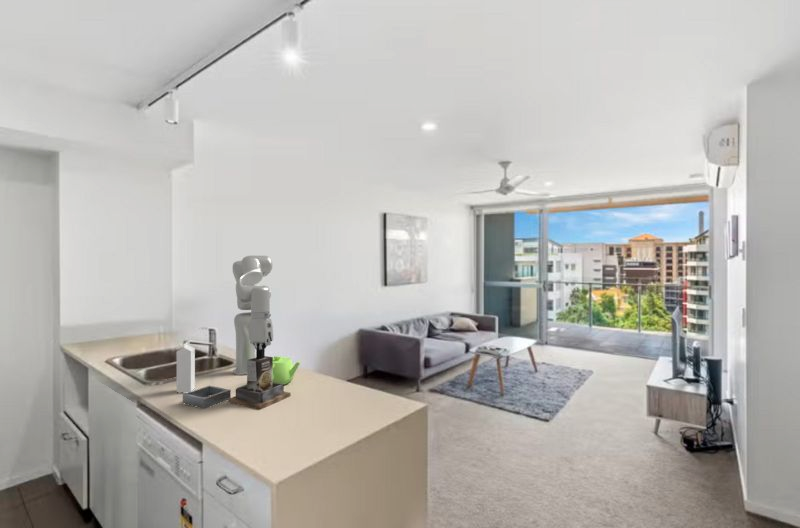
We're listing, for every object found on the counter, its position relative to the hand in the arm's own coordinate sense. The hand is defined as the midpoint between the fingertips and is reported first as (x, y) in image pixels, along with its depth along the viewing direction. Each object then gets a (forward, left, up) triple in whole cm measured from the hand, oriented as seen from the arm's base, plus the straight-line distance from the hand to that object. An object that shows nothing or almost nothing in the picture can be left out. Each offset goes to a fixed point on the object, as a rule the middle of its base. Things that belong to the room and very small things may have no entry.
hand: (260, 358), depth 174 cm
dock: (0, 0, -18) cm, 18 cm away
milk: (+7, -38, -18) cm, 43 cm away
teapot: (-22, -8, -18) cm, 30 cm away
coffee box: (0, 0, -16) cm, 16 cm away
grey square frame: (+12, -18, -18) cm, 28 cm away
